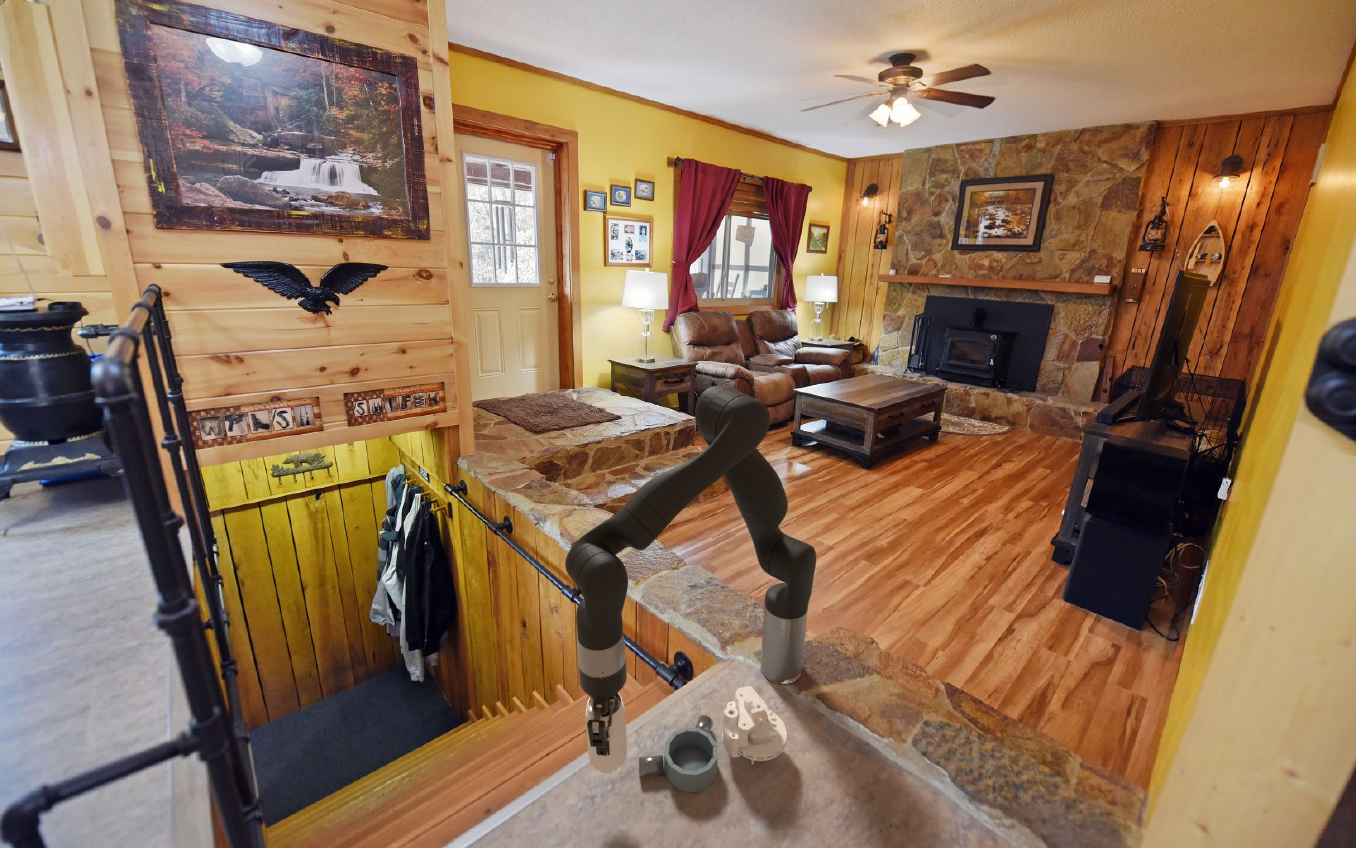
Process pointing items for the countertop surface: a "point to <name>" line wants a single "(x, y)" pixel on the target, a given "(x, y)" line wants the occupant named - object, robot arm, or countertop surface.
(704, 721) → the shaft
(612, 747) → the can
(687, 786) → the collar
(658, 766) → the shaft
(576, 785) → the countertop surface
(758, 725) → the mechanical part
